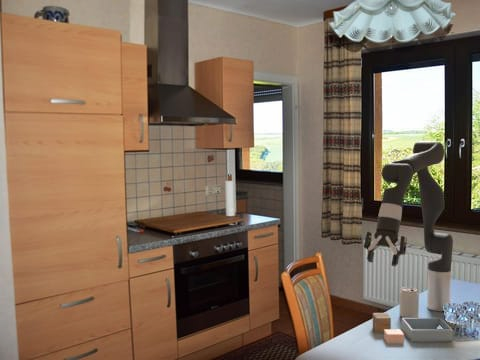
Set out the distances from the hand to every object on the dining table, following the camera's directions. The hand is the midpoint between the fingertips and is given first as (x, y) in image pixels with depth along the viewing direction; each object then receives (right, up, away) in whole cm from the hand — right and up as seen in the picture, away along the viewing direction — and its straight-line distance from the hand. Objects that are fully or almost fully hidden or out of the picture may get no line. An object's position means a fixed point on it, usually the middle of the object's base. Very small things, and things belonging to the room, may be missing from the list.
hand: (381, 264), depth 166 cm
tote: (+22, -30, +17) cm, 40 cm away
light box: (+8, -31, +12) cm, 34 cm away
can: (+22, -28, +36) cm, 50 cm away
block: (+6, -30, +22) cm, 38 cm away
